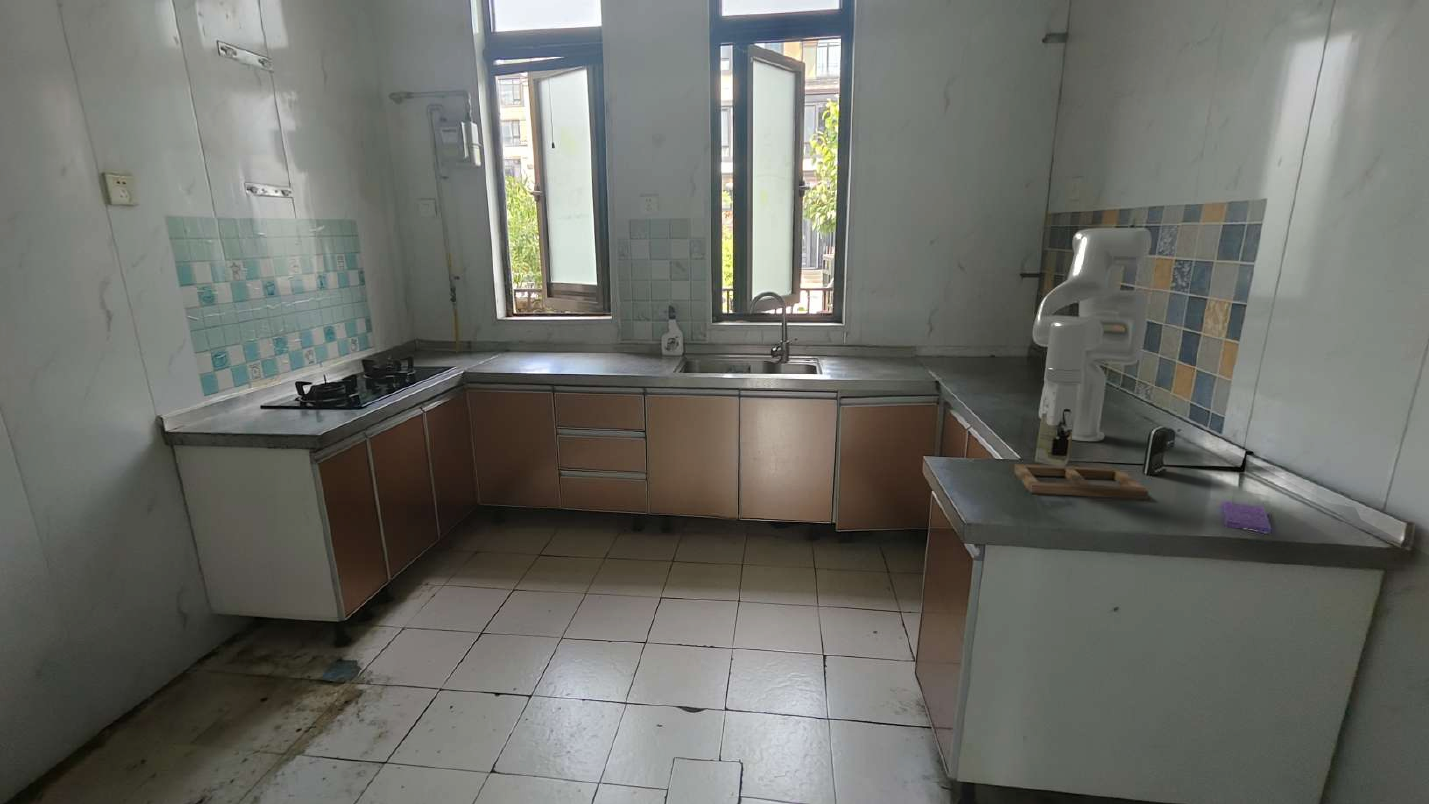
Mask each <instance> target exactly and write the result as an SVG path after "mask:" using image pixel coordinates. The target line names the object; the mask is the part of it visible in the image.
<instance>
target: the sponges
mask: <svg viewBox="0 0 1429 804" xmlns="http://www.w3.org/2000/svg"><path fill="white" fill-rule="evenodd" d="M1221 508H1222V515H1223V514H1224V516H1223V522H1224V521H1225V524H1224V526H1225V525H1227V526H1226V527H1228V526H1232V527H1231V528H1234V527H1238V528H1237V529H1239V528H1247V529H1253V530H1258V531H1262V532H1267V533H1270V534H1271V530H1272V527H1271V524H1270V521H1269V518H1268V516H1267V511H1266V509H1265V507H1264V506H1258V505H1251V504H1242V503H1238V502H1237V503H1236V502H1231V501H1226V500H1222V503H1221Z"/></svg>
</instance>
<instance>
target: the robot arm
mask: <svg viewBox="0 0 1429 804" xmlns="http://www.w3.org/2000/svg"><path fill="white" fill-rule="evenodd" d="M1071 244H1072V250H1073V253H1074V255H1073V257H1072V261H1071V266H1070V268H1069V272H1068V276H1067V280H1065V281H1063V282H1062V283H1060V284H1059V285H1057V286H1056V287H1054V288H1053V289H1052V290H1051V291H1049V292H1048V293H1047V294H1046V295H1045V296H1044V298H1043V299H1042V300H1041V302H1040V304H1039V306H1038V309H1037V313H1036V316H1035V319H1034V323H1033V327H1032V340H1033V342H1034V343H1035V344H1036V345H1038V346H1040V347H1047V351H1046V352H1047V353H1046V358H1045V359H1046V360H1045V367H1044V368H1045V370H1044V376H1043V377H1044V378H1043V381H1044V383H1043V387H1042V390H1041V391H1042V392H1041V395H1040V396H1041V397H1040V403H1039V409H1038V417H1039V419H1041V418H1042V412H1045V413H1046V417H1045V422H1046V423H1047V424H1048V425H1049V426H1051V427H1054V425H1055V438H1053V443H1052V450H1051V454H1052V455H1053V456H1066V455H1067V451H1068V444H1069V439H1070V434H1071V431H1072V430H1073V433H1072V439H1071V441H1072V440H1073V441H1077V442H1099V441H1102V440H1104V439H1105V433H1104V432H1103V431H1100V426H1101V420H1102V419H1101V418H1102V412H1103V406H1104V399H1105V391H1106V384H1107V376H1106V374H1105V372H1104V370H1103V369H1102V368H1101V366H1100V365H1099V364H1113V365H1124V366H1126V365H1127V366H1129V365H1134V364H1136V363H1138V361H1139V360H1140V358H1141V356H1142V350H1143V346H1144V339H1145V331H1146V325H1147V317H1148V310H1149V309H1148V308H1149V306H1148V305H1149V304H1148V303H1149V302H1148V298H1147V295H1146V294H1145V293H1144V292H1142V291H1138V290H1125V289H1124V290H1123V289H1122V290H1121V289H1119V288H1118V285H1119V278H1120V272H1119V271H1120V270H1119V268H1118V267H1137V266H1140V265H1142V263H1143V262H1144V261H1145V260H1146V259H1147V258H1148V256H1149V253H1150V251H1151V247H1152V234H1151V232H1150V230H1149V229H1148V228H1146V227H1122V228H1121V227H1098V228H1097V227H1096V228H1085V229H1082V230H1081V229H1080V230H1079V231H1077V232H1076V233H1074V235H1073V237H1072V243H1071ZM1076 303H1079V305H1078V315H1079V316H1074V315H1054V314H1055V312H1057V311H1058V310H1060V309H1062V308H1064V307H1066V306H1070V305H1072V304H1076ZM1104 325H1106V326H1118V327H1122V328H1123V329H1115V328H1104ZM1059 423H1064V425H1058V424H1059ZM1073 425H1074V427H1073ZM1059 429H1064V430H1061V431H1060V433H1059Z"/></svg>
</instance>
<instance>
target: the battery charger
mask: <svg viewBox="0 0 1429 804" xmlns="http://www.w3.org/2000/svg"><path fill="white" fill-rule="evenodd" d="M1175 442H1176V431H1175V429H1173V428H1169V427H1166V426H1156V427H1154V428H1151V429H1150V430H1149V433H1148V436H1147V441H1146V446H1145V453H1144V460H1143V465H1142V466H1143V467H1142V474H1145V475H1150V476H1160V475H1161V474H1164V473H1165V472H1167V467H1166V466H1165V463H1164V455H1165V453H1167V452H1169V451H1171V450H1173V449H1174V447H1175V444H1176V443H1175Z"/></svg>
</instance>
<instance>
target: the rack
mask: <svg viewBox="0 0 1429 804" xmlns="http://www.w3.org/2000/svg"><path fill="white" fill-rule="evenodd" d="M1013 472H1014V474H1015V475H1016V476H1017V477H1018V479H1019V480H1020V481H1021V482H1022V484H1023V485H1024V486H1025V488H1026V489H1027V490H1028V491H1029V493H1030V494H1044V495H1060V496H1061V495H1063V496H1064V495H1065V496H1081V497H1098V498H1099V497H1102V498H1113V499H1114V498H1117V499H1133V500H1136V499H1137V500H1147V499H1148V494H1149V490H1148V489H1147V488H1145V487H1144V486H1142V485H1141V484H1140V483H1139V482H1138V481H1136V480H1135V478H1133V477H1131V476H1130V475H1128V474H1127V473H1126V472H1125V471H1123V469H1121V468H1112V467H1111V468H1107V467H1089V466H1087V467H1086V466H1071V465H1070V466H1068V465H1065V466H1064V467H1058V466H1053V465H1049V464H1027V463H1025V464H1024V463H1014V464H1013ZM1035 476H1041V477H1044V476H1045V477H1063V478H1065V479H1066V480H1067V481H1068V482H1069V483H1067V482H1066V483H1064V482H1063V483H1061V482H1045V481H1038V480H1037V479H1036V477H1035ZM1086 479H1103V480H1114V481H1115V482H1116V483H1117V484H1119V485H1104V484H1103V485H1102V484H1090V483H1089V482H1088V481H1087V480H1086Z"/></svg>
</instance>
